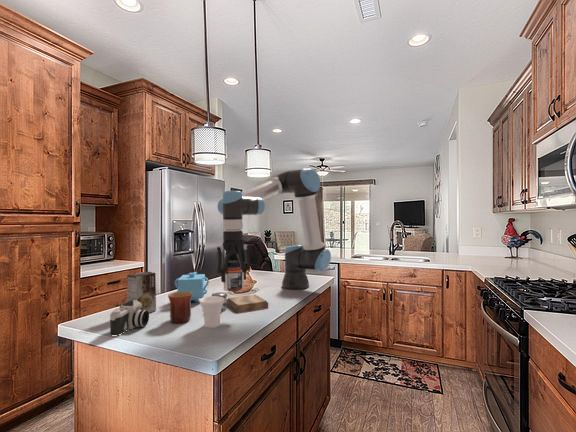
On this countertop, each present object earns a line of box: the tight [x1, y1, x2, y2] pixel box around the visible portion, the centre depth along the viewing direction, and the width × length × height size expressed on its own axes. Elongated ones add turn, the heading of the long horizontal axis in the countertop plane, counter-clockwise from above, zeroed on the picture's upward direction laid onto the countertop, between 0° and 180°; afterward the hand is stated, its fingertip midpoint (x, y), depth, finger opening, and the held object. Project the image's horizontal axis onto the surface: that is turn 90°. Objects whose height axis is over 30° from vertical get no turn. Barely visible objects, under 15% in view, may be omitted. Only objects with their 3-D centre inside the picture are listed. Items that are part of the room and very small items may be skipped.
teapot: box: [174, 271, 210, 304], centre depth 150 cm, size 18×16×13 cm
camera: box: [109, 300, 150, 336], centre depth 110 cm, size 16×9×10 cm, turn 178°
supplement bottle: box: [226, 260, 242, 292], centre depth 123 cm, size 6×6×11 cm
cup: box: [199, 295, 224, 329], centre depth 112 cm, size 9×9×10 cm
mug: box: [167, 291, 193, 325], centre depth 119 cm, size 12×9×10 cm
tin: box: [211, 291, 228, 312], centre depth 132 cm, size 6×6×7 cm
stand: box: [227, 294, 269, 314], centre depth 137 cm, size 14×14×3 cm
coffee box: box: [126, 270, 157, 314], centre depth 129 cm, size 9×6×16 cm
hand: (233, 289), depth 123 cm, fingers closed on supplement bottle, 6 cm apart
